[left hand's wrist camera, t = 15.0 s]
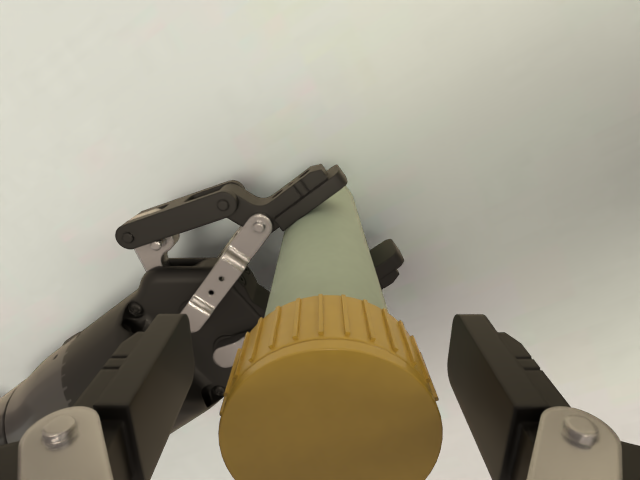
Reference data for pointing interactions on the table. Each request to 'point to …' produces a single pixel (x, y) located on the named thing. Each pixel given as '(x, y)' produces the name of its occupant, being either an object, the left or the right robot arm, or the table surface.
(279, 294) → the jar
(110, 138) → the table surface
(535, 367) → the left robot arm
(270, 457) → the lid
